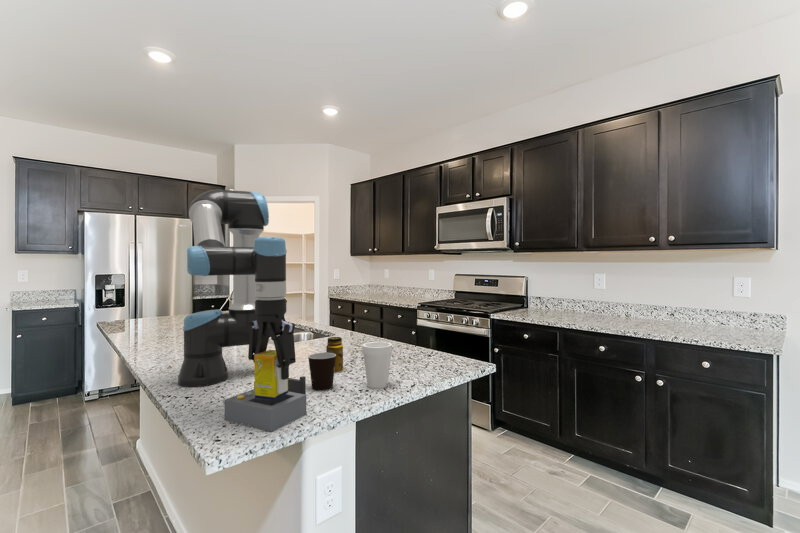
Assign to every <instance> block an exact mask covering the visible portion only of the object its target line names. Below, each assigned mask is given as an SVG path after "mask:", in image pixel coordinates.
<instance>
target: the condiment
mask: <svg viewBox="0 0 800 533" xmlns="http://www.w3.org/2000/svg"><path fill="white" fill-rule="evenodd" d="M342 340H343V338H342V337H341V336H330V337H328V338H327V340H326V341H327V345H326V352H325V353H334V354H336V360H335V370H334V374H335V373H336V374H338V373H342V372H346V371H348V369H346V368H344V346H343V343H342V342H343V341H342Z"/></svg>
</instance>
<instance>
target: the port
mask: <svg viewBox="0 0 800 533" xmlns="http://www.w3.org/2000/svg"><path fill="white" fill-rule="evenodd" d="M223 402H224V403H223V404H224V405H223V406H224V408H223V409H224V410H223V411H224V414H223V416H224V421H228V422H233V423H235V424H240V425H244V426H248V427H252V428H255V429H259V430H263V431H265V432H266V431H267V432H275V430H278V429H279V428H282V427H283V426H285V425H288V424H290V423H292V422H294V421H295V420H297V419H299V418H302V417H303V416H306V415H307V412H308V411H307V394H300V393H294V392H289V391H288V393H287V394H285V395H283V396H281V397H279V398H278V399H276V400H265V399H256V398H255V389H254V388H253V389H250V390H248V391H244V392H243V393H239V394H236V395H234V396H231V397H228V398H225V399H224V401H223Z"/></svg>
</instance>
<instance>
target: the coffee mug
mask: <svg viewBox="0 0 800 533" xmlns="http://www.w3.org/2000/svg"><path fill="white" fill-rule="evenodd" d="M307 358H308V365H309V366H308V367H309V372H310V373H309V374H310V382H311V390H313V391H318V392H319V391H321V392H322V391H329V390H331V389H333V387H334V378H335V373H334V370H335V360H336V354H334V353H326V352H316V353H312V354H309V355H308V356H307Z"/></svg>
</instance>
